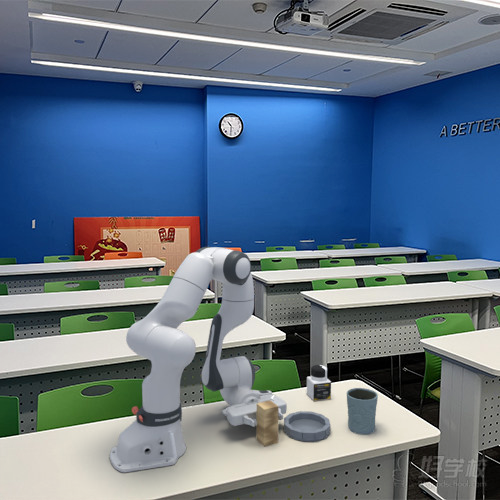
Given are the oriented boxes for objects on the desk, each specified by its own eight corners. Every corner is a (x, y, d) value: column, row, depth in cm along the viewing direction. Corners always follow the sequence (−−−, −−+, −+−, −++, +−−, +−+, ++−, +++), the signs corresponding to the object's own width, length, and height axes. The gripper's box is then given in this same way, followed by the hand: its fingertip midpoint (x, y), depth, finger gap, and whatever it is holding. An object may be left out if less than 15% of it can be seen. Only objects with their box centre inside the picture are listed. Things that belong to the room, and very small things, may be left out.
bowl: (300, 446, 152) (300, 437, 151) (275, 425, 165) (275, 417, 165) (339, 435, 159) (339, 426, 158) (312, 416, 172) (312, 408, 171)
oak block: (264, 446, 152) (264, 409, 150) (256, 439, 156) (256, 403, 154) (278, 442, 154) (278, 406, 152) (270, 435, 158) (270, 400, 157)
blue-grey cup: (354, 437, 157) (355, 401, 156) (340, 422, 167) (341, 389, 166) (382, 433, 160) (383, 397, 158) (367, 419, 170) (368, 386, 168)
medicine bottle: (313, 401, 184) (314, 370, 182) (306, 394, 191) (306, 364, 189) (331, 399, 186) (331, 368, 184) (323, 392, 192) (323, 362, 191)
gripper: (219, 401, 160) (238, 418, 148) (273, 389, 170) (295, 404, 158) (220, 419, 161) (238, 438, 149) (273, 406, 171) (295, 423, 158)
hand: (268, 420), depth 153 cm, fingers open, 8 cm apart
